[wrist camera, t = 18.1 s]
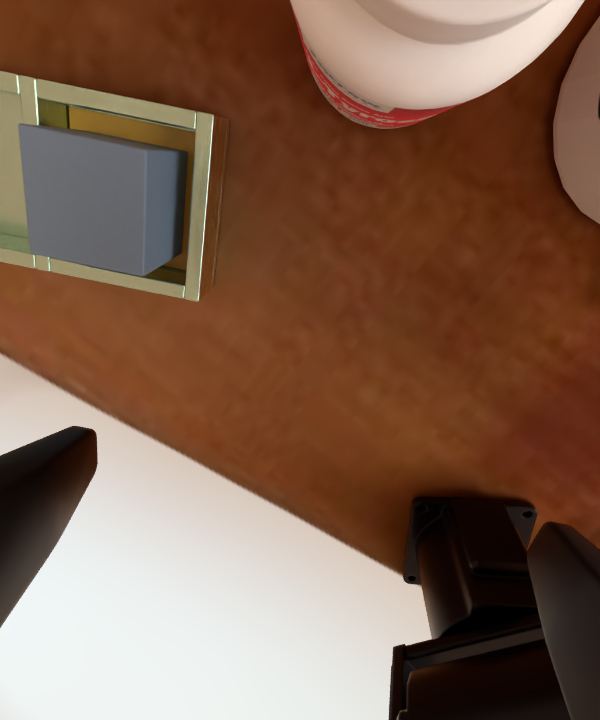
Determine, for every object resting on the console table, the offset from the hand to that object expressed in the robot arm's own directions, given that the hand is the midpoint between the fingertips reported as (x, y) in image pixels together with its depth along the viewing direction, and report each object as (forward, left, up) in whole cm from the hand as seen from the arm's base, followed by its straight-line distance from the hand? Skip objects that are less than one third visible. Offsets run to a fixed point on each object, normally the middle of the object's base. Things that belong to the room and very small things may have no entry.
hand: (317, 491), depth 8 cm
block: (+5, +8, -11) cm, 15 cm away
